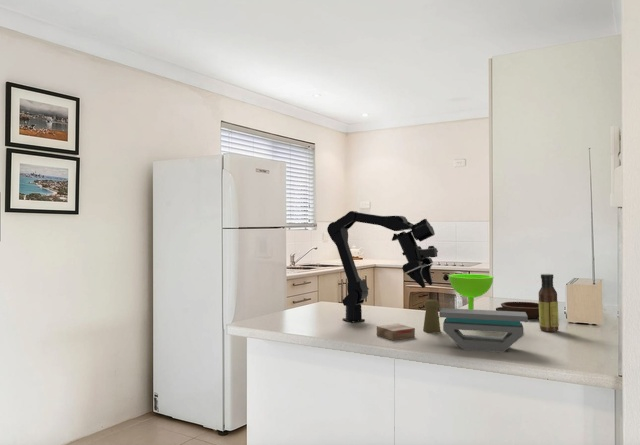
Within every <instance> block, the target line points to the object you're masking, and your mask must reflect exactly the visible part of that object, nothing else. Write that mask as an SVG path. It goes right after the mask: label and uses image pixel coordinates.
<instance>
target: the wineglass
mask: <svg viewBox="0 0 640 445" xmlns="http://www.w3.org/2000/svg"><path fill="white" fill-rule="evenodd" d="M448 278H449V283H450V284H451V285H450V286H451V287H452V289H453V290H454V291H455V292H456V293H457V294H459V295H461V296H462V297H465V298H467V304H468V306H467V307H468V308H467V309H472V310H475V309H474V303H475V302H474V298H478V297H481V296H483V295H485V294H486V293H487V292H488V291H489V290H490V289H491V286H492V285H493V283H494V276H493V275H489V274H481V273H479V274H477V273H456V274H449V275H448Z"/></svg>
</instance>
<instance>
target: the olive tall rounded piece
mask: <svg viewBox="0 0 640 445" xmlns="http://www.w3.org/2000/svg"><path fill="white" fill-rule="evenodd" d="M423 304H424V308H425V313H424V319H423V320H424V322H423V329H422V331H423V332H424V333H427V334H429V333H430V334H438V333H441V332H442V330H441V323H440V317H439V308H440V302H439V300H437V299H426V300H425V301H424V303H423Z"/></svg>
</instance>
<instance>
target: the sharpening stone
mask: <svg viewBox="0 0 640 445" xmlns="http://www.w3.org/2000/svg"><path fill="white" fill-rule="evenodd" d="M438 315H439V318H444V320H443V323H442V326H443V328H442V330H443V332H444V333H445V334H446V335H447V336H448V337H450V339H451V340H452V341H453V342H454V343H455V344H456V345H457V346H459V348H460V349H461V350H465V351H477V352H478V351H481V352H492V351H495V352H494V353H505V351H507V350H508V349H509V348H510V347H512V346H513V344H515V343H516V342H517V341H518V340H519V339H521V338H522V337H524V325H523V322H525V323H526V322H527V323H528V321H529V320H528V316H527V314H526V312H514V311H496V310H490V309H474V310H472V309H468V308H451V307H450V308H447V307H441V308H440V311H438ZM462 330H463V331H477V332H494V333H505V334H503V335H502V336H491V335H490V336H488V335H474V334H464V333H463V332H462Z"/></svg>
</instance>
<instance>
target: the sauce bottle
mask: <svg viewBox="0 0 640 445" xmlns="http://www.w3.org/2000/svg"><path fill="white" fill-rule="evenodd" d="M540 279H541V287H540V289H539V291H538V303H539V318H538V320H539V321H538V322H539V329H540V330H541V331H543V332H548V331H549V332H550V333H553V332H554V331H556V332H558V331H559V329H560V328H559V325H560V323H559V321H560V320H559V302H558V292H557V291H556V289H555V287H554V274H552V273H541V274H540Z"/></svg>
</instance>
